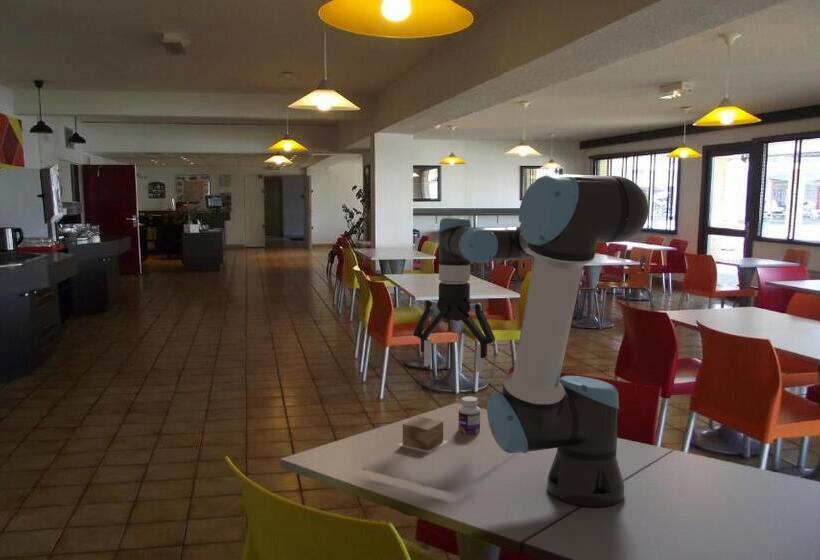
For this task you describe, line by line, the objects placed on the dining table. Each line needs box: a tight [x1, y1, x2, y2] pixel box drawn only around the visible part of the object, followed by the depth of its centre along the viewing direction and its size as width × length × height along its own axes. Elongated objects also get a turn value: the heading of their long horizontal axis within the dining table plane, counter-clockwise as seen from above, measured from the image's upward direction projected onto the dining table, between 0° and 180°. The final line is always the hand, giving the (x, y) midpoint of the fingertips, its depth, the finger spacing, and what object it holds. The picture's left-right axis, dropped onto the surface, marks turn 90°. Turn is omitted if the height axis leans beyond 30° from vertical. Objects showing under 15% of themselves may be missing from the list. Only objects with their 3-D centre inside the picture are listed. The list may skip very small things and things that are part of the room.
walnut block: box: [402, 416, 444, 451], centre depth 159 cm, size 7×7×5 cm
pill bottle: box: [458, 395, 481, 435], centre depth 168 cm, size 5×5×10 cm
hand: (453, 368), depth 164 cm, fingers open, 13 cm apart
